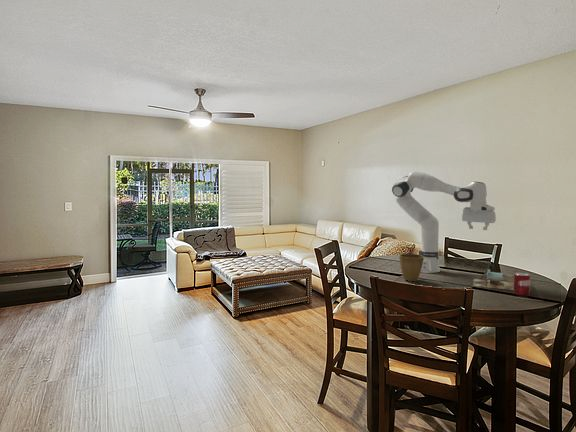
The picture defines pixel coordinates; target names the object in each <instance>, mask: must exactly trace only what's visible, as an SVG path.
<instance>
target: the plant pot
mask: <svg viewBox="0 0 576 432" xmlns="http://www.w3.org/2000/svg"><path fill="white" fill-rule="evenodd" d="M398 256H399V263H400V268H401V273H402V276H403V278H404V280H405V281H406V280H408V281H407V282H412V281H414V282H417V281H418V279H419V276H420V274H421V272H420V271H421V268H422V264H423V259H424V256H422V255H418V254H415V253H401V254H398Z"/></svg>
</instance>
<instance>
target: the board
mask: <svg viewBox="0 0 576 432" xmlns="http://www.w3.org/2000/svg"><path fill="white" fill-rule="evenodd" d="M502 275H503V277H508V278H514V275H512V274H511V275H510V274H502ZM490 280H495V281H499V285H491V284H490ZM472 286H473V287H483V288H489V289H490V288H491V289H502V290H508V291H509V290H511V291H514V279H513V280H511V279H503V280H501V279H491V278H487V272H486V273H485V274H484V279H478V278H473V283H472Z"/></svg>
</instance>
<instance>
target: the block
mask: <svg viewBox="0 0 576 432" xmlns="http://www.w3.org/2000/svg"><path fill="white" fill-rule="evenodd" d="M489 281H490V284H491V285H499V282H500V281H495V280H489Z"/></svg>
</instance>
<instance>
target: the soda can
mask: <svg viewBox="0 0 576 432" xmlns="http://www.w3.org/2000/svg"><path fill="white" fill-rule="evenodd" d="M513 276H514V277H513V281H514V282H513V283H514V290H513V294H515V296H516V297H517V298H522V299H523V298H524V299H526V298H527V299H528V298H529V297H528V296H530V295H531V275H530V273H527V272H526V273H525V272H515V273H514V274H513Z"/></svg>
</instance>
